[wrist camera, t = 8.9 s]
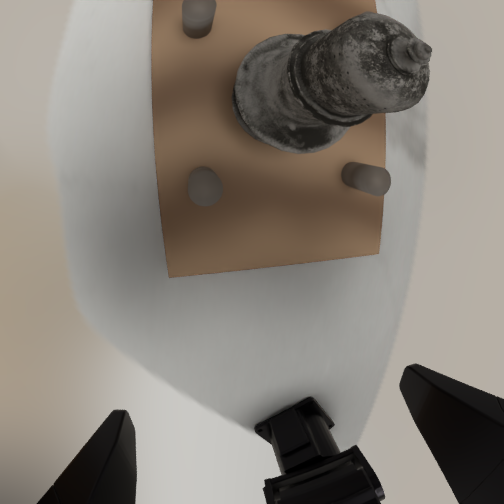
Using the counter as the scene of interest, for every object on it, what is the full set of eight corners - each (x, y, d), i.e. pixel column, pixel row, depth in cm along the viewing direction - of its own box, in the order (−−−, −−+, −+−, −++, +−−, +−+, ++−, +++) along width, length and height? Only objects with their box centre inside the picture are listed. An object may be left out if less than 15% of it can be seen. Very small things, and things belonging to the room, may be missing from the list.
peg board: (368, 246, 22) (403, 270, 18) (170, 267, 19) (166, 302, 15) (360, -14, 15) (394, -36, 10) (158, -29, 12) (152, -66, 8)
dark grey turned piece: (280, 34, 14) (407, -76, 3) (346, 108, 16) (521, 99, 5) (203, 97, 15) (231, 0, 4) (276, 172, 17) (419, 235, 6)
